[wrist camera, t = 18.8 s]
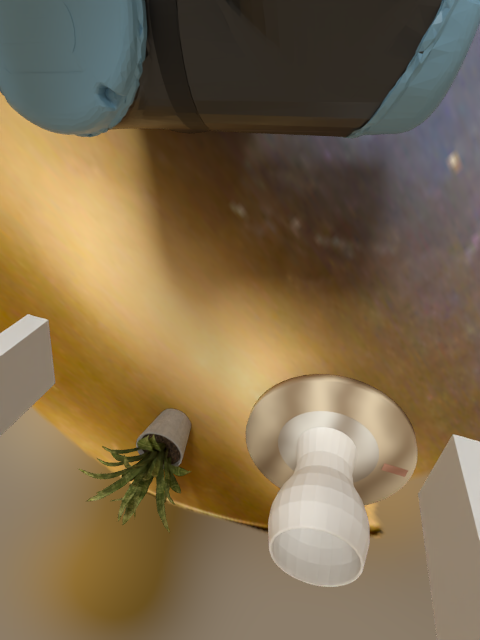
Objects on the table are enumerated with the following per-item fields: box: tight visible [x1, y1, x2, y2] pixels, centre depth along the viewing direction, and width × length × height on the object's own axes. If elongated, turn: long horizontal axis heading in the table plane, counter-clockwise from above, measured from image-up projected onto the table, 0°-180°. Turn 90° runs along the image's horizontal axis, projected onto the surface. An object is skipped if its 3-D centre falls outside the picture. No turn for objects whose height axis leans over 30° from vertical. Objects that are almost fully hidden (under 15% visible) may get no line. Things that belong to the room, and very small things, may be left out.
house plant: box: [79, 409, 191, 532], centre depth 58 cm, size 14×14×16 cm
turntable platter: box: [246, 374, 417, 505], centre depth 56 cm, size 22×22×2 cm
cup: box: [268, 427, 370, 587], centre depth 49 cm, size 11×11×15 cm
